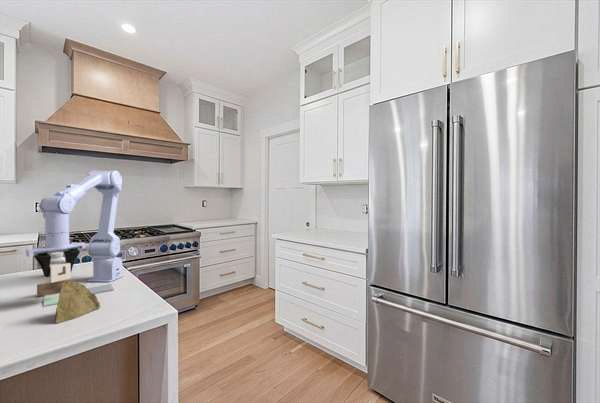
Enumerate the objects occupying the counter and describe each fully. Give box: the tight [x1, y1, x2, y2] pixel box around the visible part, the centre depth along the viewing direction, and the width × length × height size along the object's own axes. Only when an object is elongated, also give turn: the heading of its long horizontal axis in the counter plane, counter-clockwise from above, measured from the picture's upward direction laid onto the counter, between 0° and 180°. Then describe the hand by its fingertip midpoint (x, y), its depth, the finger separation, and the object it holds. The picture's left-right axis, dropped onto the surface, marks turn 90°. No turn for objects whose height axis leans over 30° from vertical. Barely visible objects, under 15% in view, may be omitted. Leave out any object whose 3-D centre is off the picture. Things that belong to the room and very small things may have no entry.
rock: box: [54, 280, 101, 325], centre depth 78 cm, size 11×9×10 cm
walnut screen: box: [36, 278, 73, 298], centre depth 94 cm, size 9×3×4 cm, turn 132°
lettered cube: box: [43, 262, 72, 283], centre depth 88 cm, size 5×5×5 cm
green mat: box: [43, 295, 59, 307], centre depth 88 cm, size 7×7×1 cm
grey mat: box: [86, 283, 114, 295], centre depth 98 cm, size 7×7×1 cm
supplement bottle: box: [50, 251, 66, 264], centre depth 113 cm, size 5×5×10 cm
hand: (58, 274), depth 88 cm, fingers closed on lettered cube, 5 cm apart
